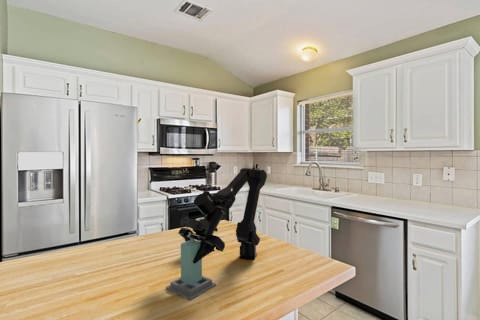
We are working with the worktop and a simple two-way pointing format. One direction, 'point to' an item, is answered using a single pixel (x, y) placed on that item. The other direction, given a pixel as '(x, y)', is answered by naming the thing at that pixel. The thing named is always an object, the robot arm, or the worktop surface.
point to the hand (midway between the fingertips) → (188, 261)
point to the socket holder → (190, 287)
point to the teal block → (190, 262)
